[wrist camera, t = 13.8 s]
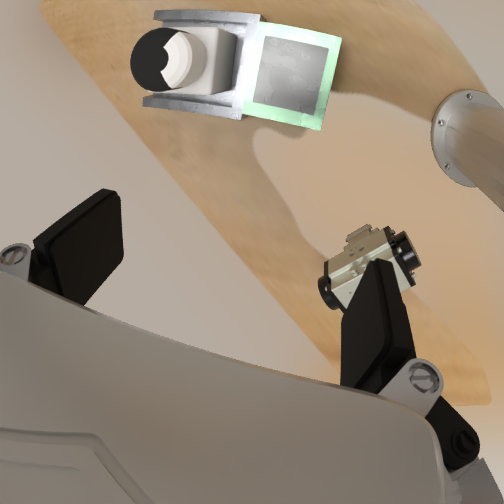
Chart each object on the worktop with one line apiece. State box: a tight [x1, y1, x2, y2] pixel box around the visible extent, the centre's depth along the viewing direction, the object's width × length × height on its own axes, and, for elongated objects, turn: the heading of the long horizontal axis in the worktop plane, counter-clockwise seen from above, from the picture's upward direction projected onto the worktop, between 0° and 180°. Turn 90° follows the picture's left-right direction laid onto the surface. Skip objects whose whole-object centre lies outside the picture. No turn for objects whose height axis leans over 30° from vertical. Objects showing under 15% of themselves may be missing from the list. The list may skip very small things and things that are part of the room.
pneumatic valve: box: [318, 224, 421, 313], centre depth 35 cm, size 6×12×12 cm, turn 131°
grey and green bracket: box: [143, 10, 342, 131], centre depth 29 cm, size 21×12×7 cm, turn 80°
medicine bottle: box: [130, 27, 237, 95], centre depth 26 cm, size 7×7×12 cm
